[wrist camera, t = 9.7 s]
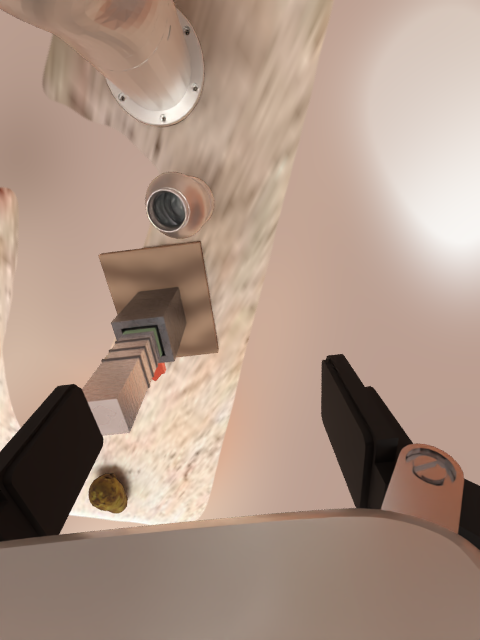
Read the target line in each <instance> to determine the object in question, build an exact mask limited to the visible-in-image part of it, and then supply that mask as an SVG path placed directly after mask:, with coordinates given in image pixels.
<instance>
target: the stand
mask: <svg viewBox="0 0 480 640" xmlns="http://www.w3.org/2000/svg"><path fill="white" fill-rule="evenodd" d="M99 259H100V262H101V265H102V268H103V271H104V274H105V277H106V280H107V284H108V286H109V290H110V293H111V296H112V299H113V302H114V305H115V308H116V311H117V314H118V315H117V316H116V318H115V319H114V320H113V321H112V322H111V324H112V327H113V330H114V333H115V336H116V339H117V341H118V340H119V338H120V337H121V336H122V334H123V333H124V332H125V330H126V329H127V328H132V327H140V326H149V325H158V329H159V332H160V336H161V340H162V344H163V348H164V351H163V353H162V355H161V358H160V360H159V363H158V367H157V368H156V370H155V372H154V377H152V379H153V380H154V381H156V380H157V379H158V378H159V377H160V376H161V374H164V373H165V371H166V367H165V364H164V362H173V361H175V358H176V357H183V356H192V355H201V354H210V353H218V349H219V348H218V342H217V336H216V331H215V325H214V319H213V313H212V307H211V301H210V295H209V289H208V283H207V278H206V272H205V266H204V260H203V254H202V248H201V242H200V241H199V242H191V243H183V244H175V245H166V246H158V247H150V248H142V249H134V250H126V251H117V252H110V253H102V254H100V255H99Z"/></svg>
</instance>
